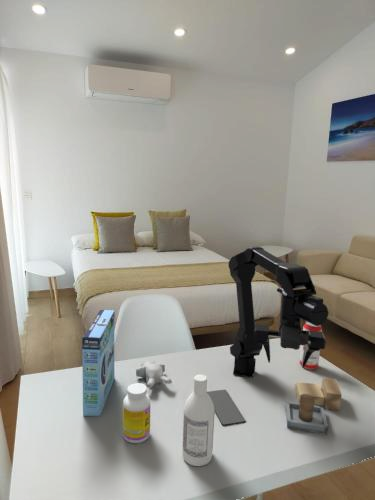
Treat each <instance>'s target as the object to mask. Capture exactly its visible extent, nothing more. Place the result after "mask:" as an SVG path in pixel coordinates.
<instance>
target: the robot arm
mask: <svg viewBox="0 0 375 500" xmlns="http://www.w3.org/2000/svg"><path fill="white" fill-rule="evenodd" d="M258 266H259V267H260V268H262V269H264V270H266V271H267V272H268V273H270V274H271V275H273V276H274V277H275V282H277V283H278V284H279V285H280V287H278V288H276V292H278V293H280V294H281V298H280V309H279V318H278V319H279V320H278V321H279V322H278V330H275V329H270V325H269V324H268V325H267V324H261V323H257V324H256V322H255V312H254V300H253V299H254V298H253V289H252V288H253V287H252V281H253V279H254V277H255V275H256V267H258ZM228 269H229V274H230V277H231V278H232V279H233V281H234V283H235V287H236V298H237V308H238V309H237V311H238V312H237V313H238V321H239V324H238V325H239V328H238V330H237V331H236V334H235V342H234V343H233V344H232V345H230V346H229V353H230V355H231V356H233V357H234V364H233V373H232V375H233V376H241V377H245V378H253V377H254V374H255V373H256V360H257V359H256V358H255V357H256V356H260V353H261V352H262V350H263V349H264V351H265V355H266V358H267V362H268V363H271V345H270V338H276V339H280V343H279V344H280V347H281V348H283V349H293V350H299V349H301V345H304V346H305V349H304V354H303V360H302V366H301V368H303V367H304V366H305V364H306V363H307V361H308V359H309V357H310V356H311V354H312V353H313V352H314V351H319V350H320V351H321V350H325V349H326V345H327V339H326V337H325V335H324V333H323V331H322V332H321V331H313V330H309V331H304V330H303V329H302V325H301V324H302V320H303V321H305V322H306V321H307V322H309V323H311V324H313V325H315V326H320V325H321V326H322V325H323V324H324V323H325V322H326V321H327V319H328V316H329V310H328V307H327V305H326V304H324V299H323V298H322V297H317V296H315V295H317V291H316V286H315V284H314V283H313V281H312V280H313V279H312V278H311V275H310V272H309V270H308V268H307V267H305V265H304V266H303V265H300V264H296V263H290V262H286V261H284V260H282V259H281V258H279V257H277V256H275V255H273V254H272V253H270V252H268V251H267V250H265V248H264V247H261V246H253V247H250V246H249V247H248V248H246V249H245V250H244V251H242V252H239V253H237V254H235V255H234V256H232V257H230V260H229V261H228Z"/></svg>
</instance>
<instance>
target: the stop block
mask: <svg viewBox="0 0 375 500" xmlns="http://www.w3.org/2000/svg"><path fill="white" fill-rule="evenodd" d="M320 388H321V390H322V392H323V395H324V397H325V400H324V406H323V408H324V409H328V410H333V411H340V410H341V403H342V395H343V393H342V392H341V388H340V385H339V383H338V380H337V379H335V378H333V379H332V378H327V377H326V378H325V377H323V378H322V380H321V386H320Z"/></svg>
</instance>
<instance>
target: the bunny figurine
mask: <svg viewBox="0 0 375 500" xmlns="http://www.w3.org/2000/svg"><path fill="white" fill-rule="evenodd" d="M165 367H166V365H165V364H162V363H156V361H155V360H152V361H146V362H141V364H140V367H138V368H136V369H135V376H136V378H137V377H139V378H144V379H145V381H146V382H145V383H146V385H145V386H146V387H147V388H152V387H153V386H154V385H155V384H161V383H162V382H163V383H166V384H172V383H173V381H172V378H170V377H169V376H165V375H164V372H166V368H165Z"/></svg>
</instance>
